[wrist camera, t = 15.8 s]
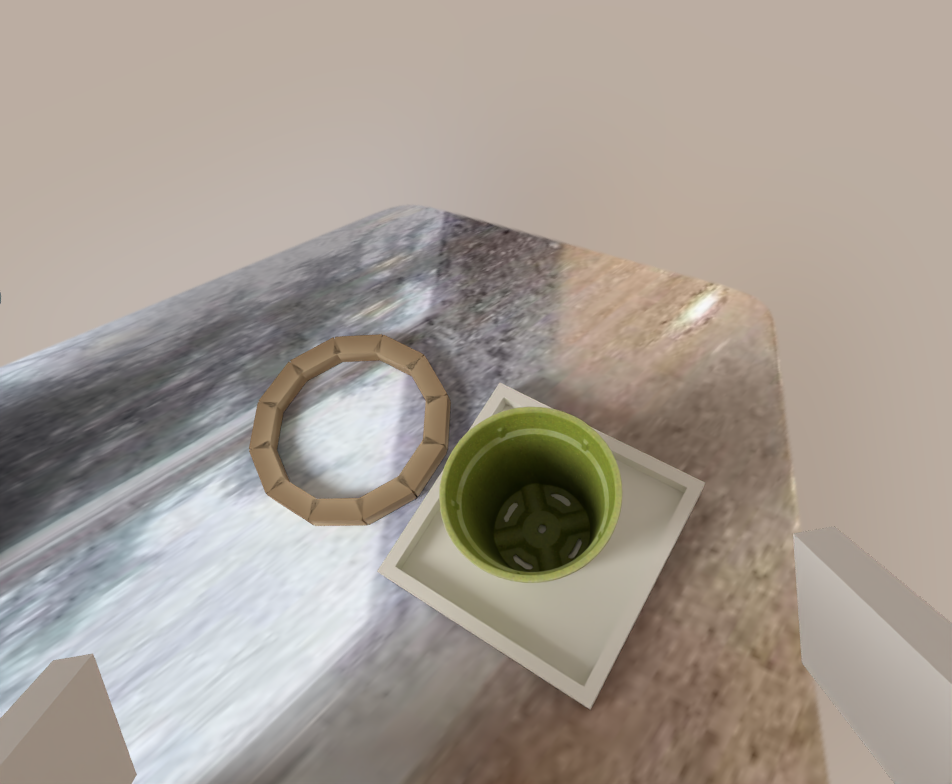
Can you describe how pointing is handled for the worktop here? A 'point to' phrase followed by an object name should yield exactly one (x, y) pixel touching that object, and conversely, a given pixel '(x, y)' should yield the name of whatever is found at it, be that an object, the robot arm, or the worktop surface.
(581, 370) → the worktop surface
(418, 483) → the oak ring
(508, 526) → the plant pot
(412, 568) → the grey tray
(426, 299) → the worktop surface
